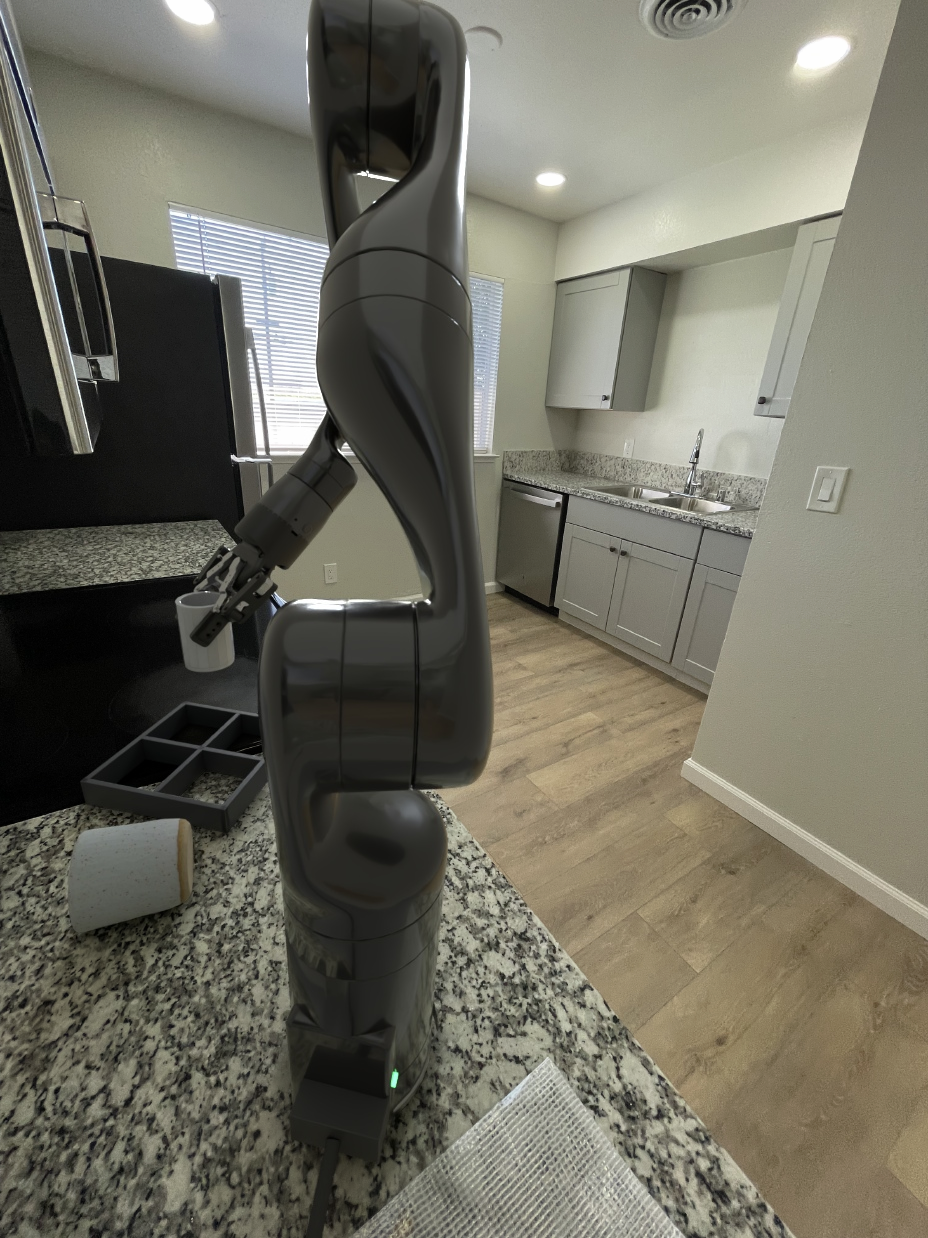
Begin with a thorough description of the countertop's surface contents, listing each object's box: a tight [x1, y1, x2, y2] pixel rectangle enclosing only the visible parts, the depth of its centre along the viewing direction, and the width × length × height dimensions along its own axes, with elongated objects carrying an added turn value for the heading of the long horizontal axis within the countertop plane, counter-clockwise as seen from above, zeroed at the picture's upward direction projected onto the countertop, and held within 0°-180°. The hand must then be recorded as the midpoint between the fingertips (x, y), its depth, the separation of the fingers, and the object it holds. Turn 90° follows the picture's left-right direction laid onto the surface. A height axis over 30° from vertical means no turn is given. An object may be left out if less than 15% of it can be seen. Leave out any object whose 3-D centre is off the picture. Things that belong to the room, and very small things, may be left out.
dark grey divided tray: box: [79, 700, 268, 833], centre depth 60 cm, size 16×16×3 cm
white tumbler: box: [174, 591, 236, 673], centre depth 59 cm, size 5×5×8 cm
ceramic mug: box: [67, 819, 194, 934], centre depth 44 cm, size 11×8×8 cm
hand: (189, 632), depth 58 cm, fingers closed on white tumbler, 5 cm apart
